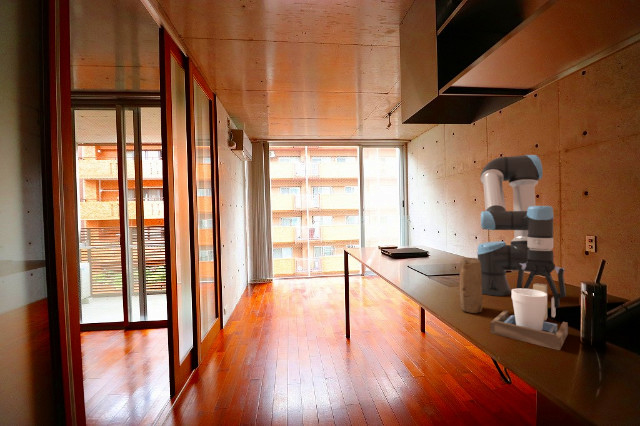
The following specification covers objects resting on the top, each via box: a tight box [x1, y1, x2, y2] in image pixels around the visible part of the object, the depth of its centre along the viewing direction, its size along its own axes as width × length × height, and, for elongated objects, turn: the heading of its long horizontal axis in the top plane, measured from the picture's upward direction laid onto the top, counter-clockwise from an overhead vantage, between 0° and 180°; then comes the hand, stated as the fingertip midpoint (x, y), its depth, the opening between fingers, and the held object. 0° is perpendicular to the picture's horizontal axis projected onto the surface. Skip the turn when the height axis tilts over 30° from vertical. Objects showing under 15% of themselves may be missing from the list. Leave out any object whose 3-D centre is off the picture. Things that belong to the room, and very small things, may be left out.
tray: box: [505, 282, 558, 335], centre depth 102 cm, size 25×13×12 cm, turn 135°
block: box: [459, 257, 483, 314], centre depth 121 cm, size 11×8×20 cm
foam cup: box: [511, 287, 548, 331], centre depth 98 cm, size 10×9×13 cm
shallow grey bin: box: [489, 309, 569, 351], centre depth 97 cm, size 16×18×4 cm
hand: (540, 313), depth 110 cm, fingers open, 7 cm apart
